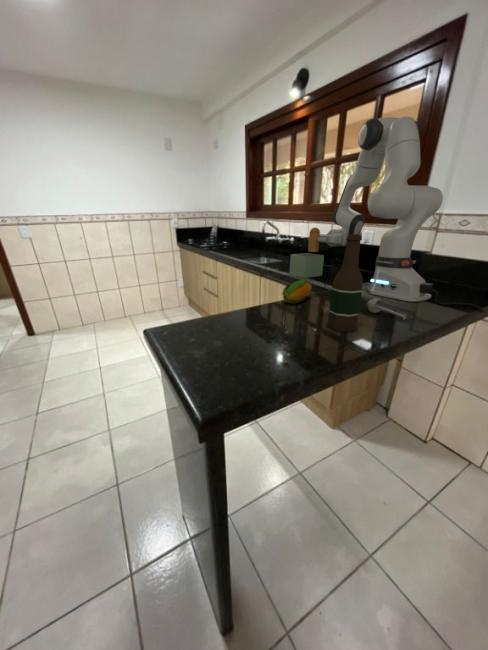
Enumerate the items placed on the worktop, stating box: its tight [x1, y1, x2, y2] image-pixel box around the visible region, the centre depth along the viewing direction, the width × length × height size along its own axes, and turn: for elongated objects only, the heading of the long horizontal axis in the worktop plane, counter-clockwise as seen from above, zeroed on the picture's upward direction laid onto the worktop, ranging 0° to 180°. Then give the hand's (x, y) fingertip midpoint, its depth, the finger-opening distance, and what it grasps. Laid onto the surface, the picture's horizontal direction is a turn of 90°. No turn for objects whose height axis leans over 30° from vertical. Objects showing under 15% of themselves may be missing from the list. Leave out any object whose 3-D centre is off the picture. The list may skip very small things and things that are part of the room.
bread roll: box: [307, 227, 321, 253], centre depth 136 cm, size 5×5×12 cm
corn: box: [281, 279, 313, 305], centre depth 96 cm, size 7×8×20 cm
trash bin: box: [289, 252, 325, 279], centre depth 142 cm, size 12×12×11 cm
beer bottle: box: [327, 235, 364, 333], centre depth 67 cm, size 8×8×24 cm
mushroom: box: [366, 297, 408, 321], centre depth 81 cm, size 7×5×12 cm
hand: (312, 238), depth 136 cm, fingers closed on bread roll, 5 cm apart
